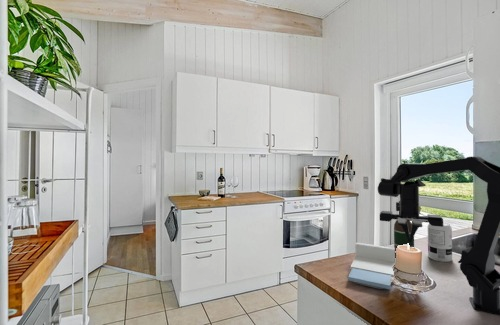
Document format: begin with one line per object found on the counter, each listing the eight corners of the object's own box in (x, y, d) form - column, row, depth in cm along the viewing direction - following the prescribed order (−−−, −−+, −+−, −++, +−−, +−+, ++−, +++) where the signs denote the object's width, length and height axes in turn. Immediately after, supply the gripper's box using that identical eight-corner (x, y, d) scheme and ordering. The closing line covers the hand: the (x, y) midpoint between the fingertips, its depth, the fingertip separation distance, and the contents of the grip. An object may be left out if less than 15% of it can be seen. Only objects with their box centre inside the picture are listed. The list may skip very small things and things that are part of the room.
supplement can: (424, 254, 111) (423, 221, 111) (444, 255, 110) (443, 221, 110) (435, 262, 103) (434, 225, 103) (457, 263, 102) (456, 226, 102)
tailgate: (391, 281, 86) (390, 292, 79) (352, 273, 93) (348, 283, 86) (391, 275, 86) (390, 285, 79) (352, 268, 93) (348, 276, 86)
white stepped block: (393, 283, 86) (393, 260, 86) (350, 274, 93) (350, 253, 93) (395, 268, 98) (394, 248, 98) (356, 261, 105) (356, 242, 105)
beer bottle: (416, 254, 112) (415, 200, 112) (412, 259, 106) (411, 203, 106) (396, 250, 117) (395, 199, 117) (392, 255, 111) (391, 201, 111)
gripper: (439, 197, 91) (439, 239, 91) (381, 194, 101) (382, 233, 101) (443, 201, 82) (444, 249, 82) (379, 198, 91) (379, 240, 91)
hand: (409, 242), depth 89 cm, fingers closed
